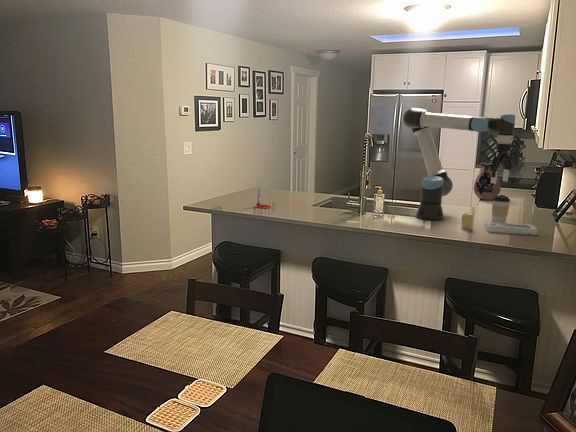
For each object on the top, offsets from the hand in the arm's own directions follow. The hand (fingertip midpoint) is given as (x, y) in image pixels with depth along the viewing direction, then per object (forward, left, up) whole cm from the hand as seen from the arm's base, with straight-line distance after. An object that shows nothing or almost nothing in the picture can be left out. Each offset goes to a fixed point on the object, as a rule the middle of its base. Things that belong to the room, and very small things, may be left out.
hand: (499, 182), depth 264 cm
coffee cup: (+2, -1, -23) cm, 23 cm away
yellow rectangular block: (-18, -21, -22) cm, 35 cm away
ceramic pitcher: (+10, +78, -23) cm, 82 cm away
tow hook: (-134, +3, -23) cm, 136 cm away
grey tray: (+3, -21, -22) cm, 31 cm away
